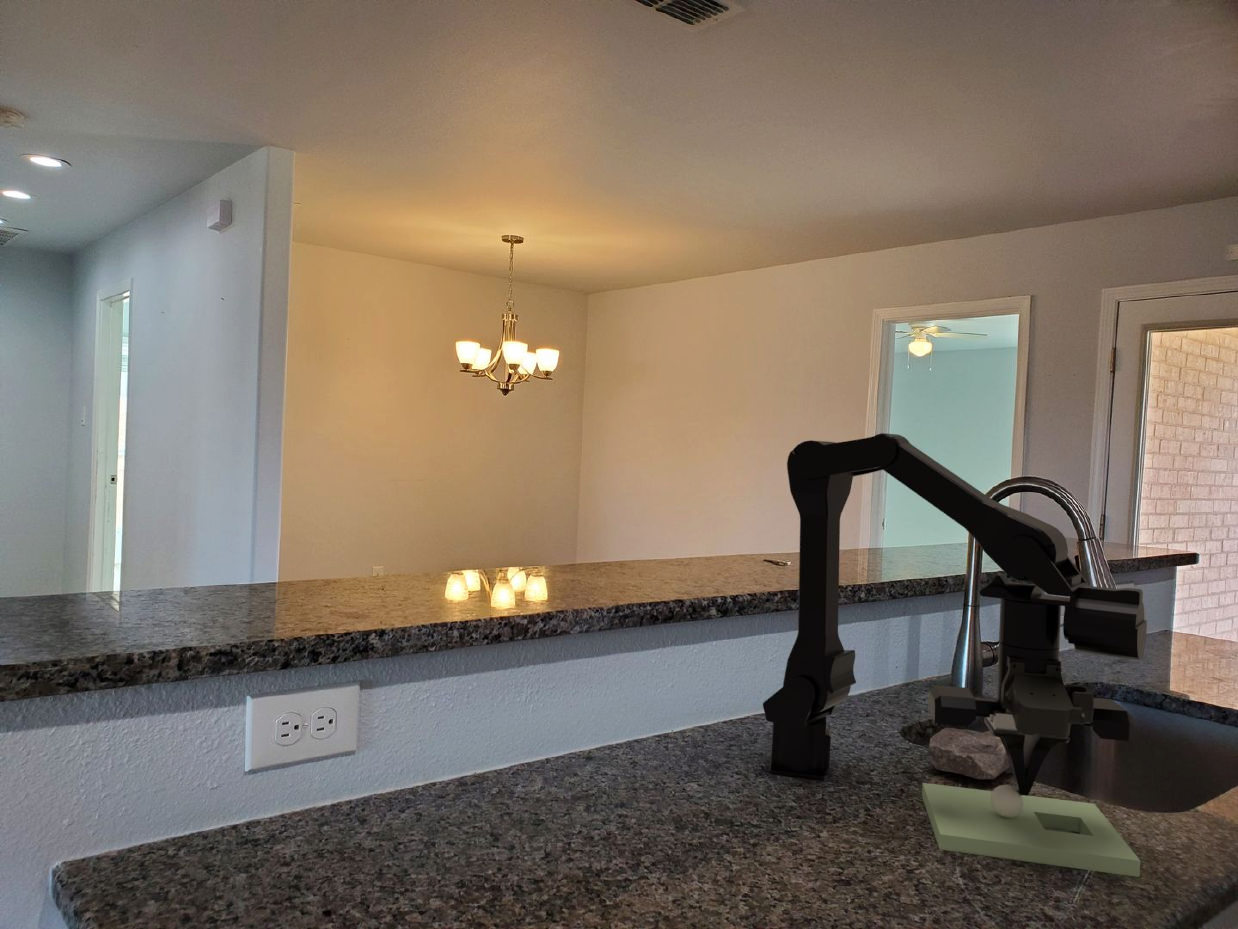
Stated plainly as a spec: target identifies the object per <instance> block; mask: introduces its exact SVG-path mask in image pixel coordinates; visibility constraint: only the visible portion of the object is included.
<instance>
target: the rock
mask: <svg viewBox="0 0 1238 929" xmlns="http://www.w3.org/2000/svg"><path fill="white" fill-rule="evenodd" d="M928 754H929V756H930V759H931V762H932V766H934V768H935V769H936V770H937V771H942V772H947V773H955V774H961V775H963V776H965V777H970V778H974V779H976V780H995V779H996V778H997V777H998V776H1000V775H1001V774H1002V773H1003V772H1004V771H1006V770H1008V769H1009V768H1011V766H1010V763H1009V760H1008V757H1007V754H1006V751H1005V748H1004V746H1003V743H1002V741H1001V739H1000V737H996V736H994V735H992V733H991V732H990V730H988V731H983V732H980V731H976V730H972V729H959V728H955V727H951V728H950V727H946V728H942V729H941V731H938V732H937V733H936V734H934V735H932V736H931V737H930V740H929V746H928Z"/></svg>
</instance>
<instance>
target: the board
mask: <svg viewBox="0 0 1238 929" xmlns="http://www.w3.org/2000/svg"><path fill="white" fill-rule="evenodd" d="M921 785H922V786H921V787H922V788H921V798H922V800H923V805H924V807H925V809H926V812H927V816H928V819H929V822H930V825H931V828H932V831H933V833H934V837H935V840H936V843H937V846H938V849H939V850H943V851H950V852H958V853H965V854H970V855H980V856H985V857H994V858H1000V859H1005V860H1015V861H1022V862H1030V863H1036V864H1043V865H1048V866H1049V865H1050V866H1057V867H1064V868H1072V869H1079V870H1086V871H1091V872H1092V871H1094V872H1100V873H1108V874H1114V875H1115V874H1116V875H1122V876H1129V877H1137V878H1140V873H1141V859H1140V858H1139V857H1138V856H1137V854H1136V853H1135V852H1134V850H1132V848H1131V847H1130V846H1129V845H1128V843H1127V842H1126V841H1125V839H1123V837H1122V836H1121V835H1120V834H1119V832H1118V831H1117V830H1116V828H1115V827H1114V826H1113V825H1112V823H1111V822H1110V821H1109V819H1107V817H1106V816H1105V815H1104V814H1103V813H1102V812H1101V810H1100V809H1099V808H1098V806H1097V805H1096V804H1095V803H1090V802H1082V801H1074V800H1065V799H1057V798H1051V797H1044V796H1043V797H1041V796H1034V795H1028V796H1024V795H1021V796H1022V798H1023V803H1024V805H1023V809H1022V811H1021V813H1020V814H1019V815H1017V816H1016V817H1013V818H1006V817H1002V816H1000V815H999V814H997V813H996V812H995V811H994V809H993V808H992V806H991V802H990V796H991V793H992V791H993V790H992V791H991V790H986V789H985V790H984V789H977V788H969V787H968V788H967V787H959V786H950V785H943V784H936V783H926V782H922V784H921Z"/></svg>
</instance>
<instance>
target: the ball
mask: <svg viewBox="0 0 1238 929" xmlns="http://www.w3.org/2000/svg"><path fill="white" fill-rule="evenodd" d="M990 802H991V806H992V808H993V809H994V811H995V812H996V813H997V814H999V815H1000V816H1002V817H1006V818H1013V817H1016V816H1017V815H1019V814H1020V813H1021V811H1022V809H1023V805H1024V803H1023V798H1022V796H1021V795H1020V793H1019V791H1018V789H1017V788H1015V787H1013V786H1011V785H1007V784H1004V785H1003V784H1002V785H998V786H996V787H995V788H993V790H992V793H991V796H990Z"/></svg>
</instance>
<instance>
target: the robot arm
mask: <svg viewBox="0 0 1238 929" xmlns="http://www.w3.org/2000/svg"><path fill="white" fill-rule="evenodd" d="M786 460H787V461H786V469H787V477H788V485H789V491H790V494H791V496H792V499H793V501H794V504H795V506H796V509H797V512H798V514H799V560H798V561H799V562H798V563H799V564H798V566H799V568H798V569H799V570H798V615H797V616H798V622H797V627H798V628H797V636H796V638H795V641H794V644H793V646H792V648H791V650H790V653H789V655H788V657H787V660H786V666H785V670H784V677H783V681H782V682H783V684H782V687H781V688H780V689H778V690H777V691H776V692H775V693H774V694H772V695H771V696H770V697H769V698H767V699H766V700H765V701H764V702H762V708H763V712H764V716H765V720H766V721H767V722H770V723H772V733H771V738H772V739H771V749H770V750H771V752H770V760H769V766H768V767H769V768H768V773H770V774H775V775H780V776H781V775H782V776H790V777H798V778H799V777H800V778H806V779H813V780H822V781H823V780H826V771H829V769H830V762H831V760H830V757H831V741H832V735H831V730H830V729H827V717H828V716H831V715H833V713H834V712H835V708H836V707H837V705H839V704H841V703H842V702H844V701H845V699H846V698H847V697H848V696H849V694H850V692H851V687H852V686H853V685H854V684H856V683H857V681H856V678H855V672H854V667H855V666H854V665H855V660H856V651H855V650H854V649H844V646H843V644H842V640H841V638H840V636H839V595H840V594H839V591H840V590H839V589H840V586H839V585H840V584H839V583H840V539H841V538H840V533H841V532H840V530H841V517H842V514H843V510H844V509H845V506H846V503H847V501H848V499H849V496H850V494H851V489H852V484H853V480H854V477H857V476H863V475H868V474H872V473H877V472H880V471H884V472H885V473H887V474H888V475H890V476H891V477H892V478H894V479H895V480H897V481H898V482H899V483H901V484H902V485H904V486H905V487H907V488H908V489H909V490H911V491H912V492H913V493H915V494H916V495H918V496H919V497H921V498H922V499H923V500H925V501H926V502H928V503H929V504H931V505H932V506H933V507H934V508H936V509H937V510H939V511H940V512H941V513H943V514H945V515H946V516H947V517H949V518H950V519H951V520H953V521H955V523H957V524H958V525H959V526H961V527H963V529H965V530H966V531H967V532H968V533H969V534H970V535H971V537H973V539H974V540H975V541H976V543H977V544H978V546H980V548H981V550H982V551H983V552H984V553H985V554H986V555H987V556H988V557H989V558H990V559H991V560H992V561H993V562H994V563H995V564H996V566H998V567H999V568H1000V569H1001V570H1002V571H1003V572H1004V573H1000V574H996V575H995V576H994V577H993V579H992V581H991V582H989V583H988V584H987V585H986V586H984V587H983V588H981V589H980V590H979V591H978V592H979V596H981V597H983V598H993V599H1000V603H999V604H1000V605H999V606H1000V607H999V611H1000V612H999V629H998V630H999V632H998V646H997V657H998V658H997V661H998V662H997V678H996V679H997V681H996V682H997V683H996V692H995V694H996V699H995V698H984V697H983V698H982V697H975V696H974V695H973V694H972V692H971V691H970V689H969V688H968V687H963V686H961V687H960V686H950V685H936V684H935V685H933V686H932V687H931V688H930V690H929V691H928V706H927V707H928V708H927V709H928V712H929V714H930V716H931V718H932V721H933V723H935V724H938V725H941V726H942V725H943V726H944V725H946V726H955V727H956V726H957V727H967V728H968V727H969V726H970V725H971V724H972V723H974V722H975V721H976V720H977V717H979V718H980V717H981V718H984V719H983V720H984V721H983V722H984V724H985V726H986V727H987V728H988V731H990V732H991V733H992V735H994V736H996V737H1000V739H1001V741H1002V743H1003V746H1004V748H1005V751H1006V754H1007V757H1008V760H1009V763H1010V769H1011V771H1012V776H1013V779H1014V782H1015V786H1016V790H1018V791H1019V793H1020V795H1024V796H1030V795H1029V794H1030V792H1031V790H1032V787H1033V785H1034V783H1035V781H1036V779H1037V776H1038V774H1039V772H1040V770H1041V767H1042V766H1043V763H1044V762H1045V760H1046V758H1047V757H1048V755H1049V753H1050V752H1051V751H1052V750H1053V748H1055V747H1056V746H1057V745H1059V744H1068V743H1069V742H1070V739H1071V738H1070V732H1071V726H1072V725H1073V726H1084V727H1085V726H1086V727H1090V730H1092V731H1093V733H1094V734H1095V735H1096V736H1097V737H1098V738H1099V739H1103V740H1113V741H1122V742H1123V741H1124V742H1130V741H1133V740H1134V728H1135V727H1134V720H1133V716H1132V715H1131V713H1129V711H1127V709H1125V708H1123V706H1121V705H1120V704H1119V703H1118V702H1117V701H1115V700H1114V699H1111V698H1097V697H1094V691H1093V690H1092V687H1091V686H1090V685H1084V684H1082V685H1080V684H1068V685H1067V684H1065V683H1064V680H1063V677H1062V662H1061V661H1060V643H1061V642H1060V640H1061V621H1062V620H1061V618H1062V617H1061V615H1062V607H1064V610H1063V611H1064V613H1063V623H1062V624H1063V625H1062V627H1063V628H1062V631H1063V632H1062V633H1063V637H1064V640H1067V643H1068V644H1070V645H1073V646H1074V649H1075V651H1076V652H1080V653H1084V654H1085V653H1086V654H1092V655H1093V654H1094V655H1100V656H1106V657H1114V658H1121V659H1128V660H1134V661H1140V662H1141V661H1142V660H1143V656H1144V653H1145V648H1146V640H1147V632H1148V631H1147V628H1148V627H1147V626H1148V620H1146V619H1145V617H1146V616H1145V606H1144V602H1143V599H1144V598H1143V594H1144V593H1143V592H1144V591H1143V590H1142V589H1140V588H1133V587H1124V588H1113V587H1112V588H1111V587H1103V586H1093V585H1089V583H1088V582H1087V580H1086V579H1085V577H1084V576H1083V575H1082V574H1081V572H1080V571H1079V569H1078V568H1077V567H1076V565H1075V564H1074V562H1073V561H1072V560H1071V559H1070V557H1069V556H1068V553H1069V549H1068V544H1067V539H1066V537H1065V535H1064V534H1063V532H1061V530H1059V529H1058V528H1057V527H1055V526H1054V525H1052V524H1049V523H1047V522H1045V521H1043V520H1041V519H1038V518H1036V517H1034V516H1032V515H1031V514H1028V513H1025V512H1023V511H1020V510H1018V509H1015V508H1012V507H1010V506H1007V505H1004V504H1002V503H1000V502H998V501H996V500H994V499H992V498H990V497H989V496H988V495H986V494H985V493H984V492H982V491H980V490H979V489H977V488H976V487H975V486H973V485H972V484H970V483H968V482H967V481H966V480H964V479H962V478H961V477H960V476H959V475H957V474H956V473H955V472H953V471H951V470H950V469H948V468H947V467H945V466H943V465H942V463H939V462H938V461H936V460H935V459H933V458H932V457H930V455H928V454H926V453H925V452H924V451H922V450H920V449H919V448H917V447H916V446H915V445H912V443H911V442H910V441H909V440H908V438H906V437H905V436H903V435H901V434H898V433H897V434H896V433H895V434H894V433H883V432H882V433H878V434H875V435H874V436H870V437H865V438H858V439H854V440H851V439H850V440H847V441H839V442H835V441H828V440H827V441H825V440H807V441H806V440H805V441H802V442H800V443H799V444H797V445H796V446H795V447H794V448H793V449H792V450H790V452H789V454H788V457H787V459H786ZM1006 575H1008V576H1009V577H1011V578H1013V579H1015V580H1018V581H1021V582H1031V583H1033V584H1031V583H1030V584H1029V583H1021V582H1013V581H1011V580H1010V579H1009V578H1008V577H1007V576H1006ZM1042 591H1043V592H1045V593H1046V594H1045V593H1043V592H1042Z"/></svg>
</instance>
